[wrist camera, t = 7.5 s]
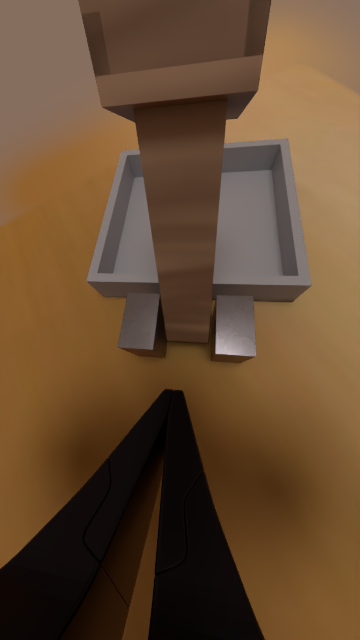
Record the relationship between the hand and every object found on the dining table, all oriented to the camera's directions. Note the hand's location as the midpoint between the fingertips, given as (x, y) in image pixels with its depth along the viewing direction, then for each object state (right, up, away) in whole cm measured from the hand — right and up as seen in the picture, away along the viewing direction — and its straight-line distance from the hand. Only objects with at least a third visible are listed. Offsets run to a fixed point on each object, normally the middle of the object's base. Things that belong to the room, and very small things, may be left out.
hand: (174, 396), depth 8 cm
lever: (+1, +2, +8) cm, 8 cm away
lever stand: (+1, +2, +8) cm, 8 cm away
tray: (+2, +14, +12) cm, 18 cm away
